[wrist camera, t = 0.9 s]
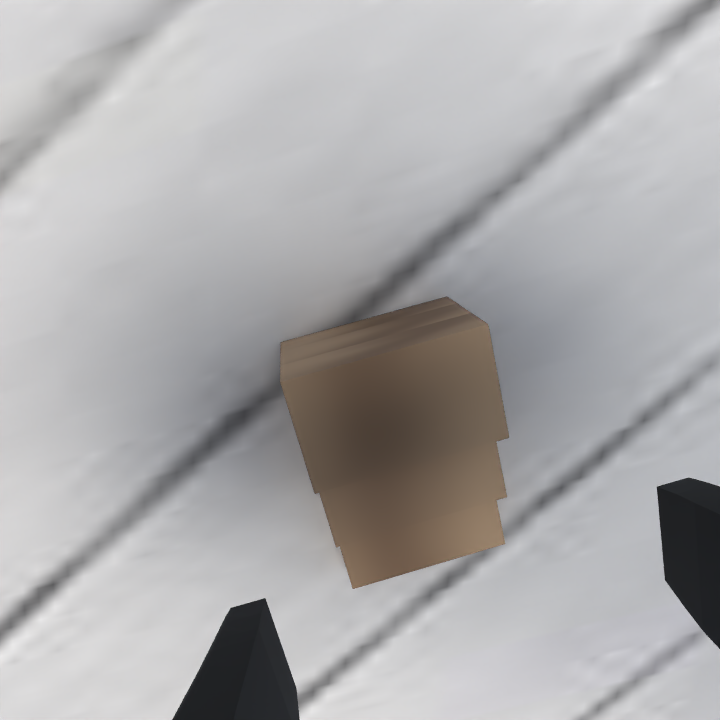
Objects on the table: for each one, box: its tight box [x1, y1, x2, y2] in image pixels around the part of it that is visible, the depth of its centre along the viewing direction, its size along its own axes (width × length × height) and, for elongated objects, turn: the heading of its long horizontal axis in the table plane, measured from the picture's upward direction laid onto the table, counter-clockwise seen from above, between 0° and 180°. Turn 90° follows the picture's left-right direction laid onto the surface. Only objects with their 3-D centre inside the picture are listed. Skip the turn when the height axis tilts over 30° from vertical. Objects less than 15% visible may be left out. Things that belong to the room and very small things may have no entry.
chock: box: [280, 297, 509, 589], centre depth 17 cm, size 5×8×4 cm, turn 14°
